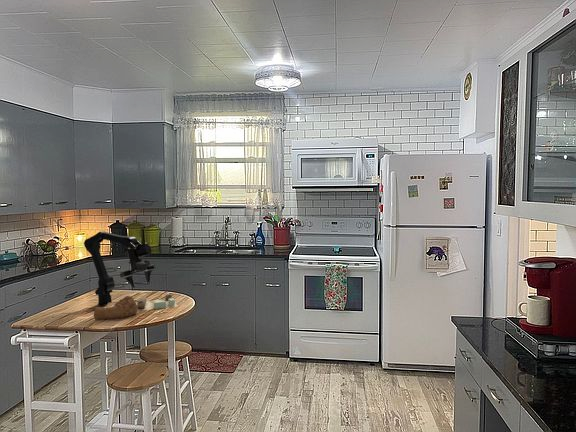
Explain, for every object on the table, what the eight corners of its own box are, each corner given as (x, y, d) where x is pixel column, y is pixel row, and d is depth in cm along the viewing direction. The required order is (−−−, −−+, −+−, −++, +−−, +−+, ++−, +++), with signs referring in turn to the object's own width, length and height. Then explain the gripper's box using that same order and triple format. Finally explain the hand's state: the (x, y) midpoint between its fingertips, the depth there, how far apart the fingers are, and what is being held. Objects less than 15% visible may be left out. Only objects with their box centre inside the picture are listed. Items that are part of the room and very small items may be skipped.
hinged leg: (144, 308, 254) (144, 301, 253) (136, 309, 253) (136, 302, 253) (147, 301, 270) (147, 295, 270) (140, 302, 269) (139, 295, 269)
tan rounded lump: (131, 328, 234) (142, 312, 248) (128, 310, 231) (139, 294, 245) (94, 327, 236) (107, 311, 250) (91, 308, 232) (104, 293, 246)
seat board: (134, 313, 250) (134, 305, 249) (130, 304, 269) (130, 297, 268) (178, 308, 259) (178, 300, 259) (171, 300, 278) (171, 293, 278)
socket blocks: (154, 308, 254) (154, 302, 254) (152, 306, 260) (152, 300, 260) (175, 306, 258) (175, 300, 258) (173, 303, 264) (173, 298, 264)
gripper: (125, 260, 252) (133, 288, 252) (156, 252, 266) (163, 279, 266) (116, 263, 260) (123, 290, 260) (146, 255, 274) (153, 281, 273)
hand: (141, 285), depth 264 cm, fingers open, 9 cm apart
